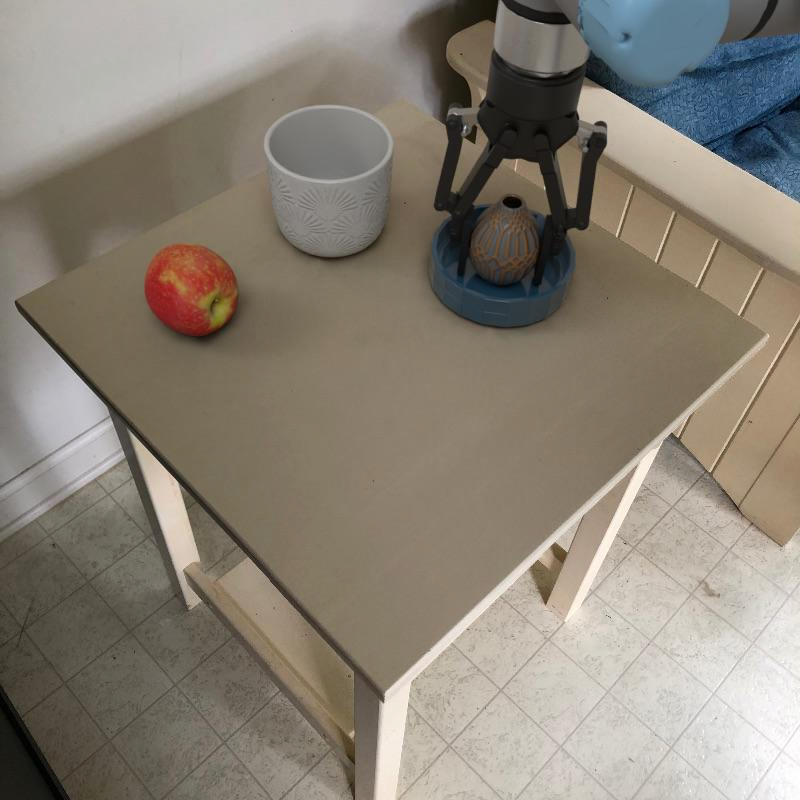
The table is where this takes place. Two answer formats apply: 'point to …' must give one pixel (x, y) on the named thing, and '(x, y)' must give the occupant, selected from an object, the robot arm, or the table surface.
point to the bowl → (498, 301)
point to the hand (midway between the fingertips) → (500, 269)
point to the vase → (505, 241)
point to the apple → (191, 289)
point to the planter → (329, 178)
